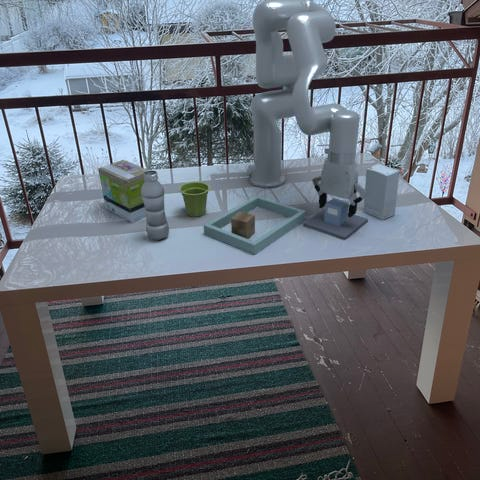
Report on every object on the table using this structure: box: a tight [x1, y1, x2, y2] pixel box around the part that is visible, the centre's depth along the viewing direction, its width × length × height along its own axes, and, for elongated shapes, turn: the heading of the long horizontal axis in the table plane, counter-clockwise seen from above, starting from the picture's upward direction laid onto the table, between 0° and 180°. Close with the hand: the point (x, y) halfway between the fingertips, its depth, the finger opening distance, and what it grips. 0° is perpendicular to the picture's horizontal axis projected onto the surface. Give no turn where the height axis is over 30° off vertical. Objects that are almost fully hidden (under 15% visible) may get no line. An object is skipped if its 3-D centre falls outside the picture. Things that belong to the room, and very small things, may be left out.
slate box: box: [324, 197, 350, 226], centre depth 140 cm, size 5×5×6 cm
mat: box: [302, 208, 369, 241], centre depth 142 cm, size 14×14×1 cm
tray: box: [203, 195, 307, 255], centre depth 141 cm, size 19×25×3 cm
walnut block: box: [230, 212, 256, 240], centre depth 136 cm, size 5×5×6 cm
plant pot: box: [179, 181, 211, 217], centre depth 149 cm, size 9×9×9 cm
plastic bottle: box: [141, 170, 170, 240], centre depth 133 cm, size 6×7×20 cm
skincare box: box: [362, 163, 400, 221], centre depth 144 cm, size 8×6×15 cm
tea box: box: [97, 159, 150, 224], centre depth 149 cm, size 15×10×15 cm, turn 47°
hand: (336, 211), depth 140 cm, fingers open, 9 cm apart
